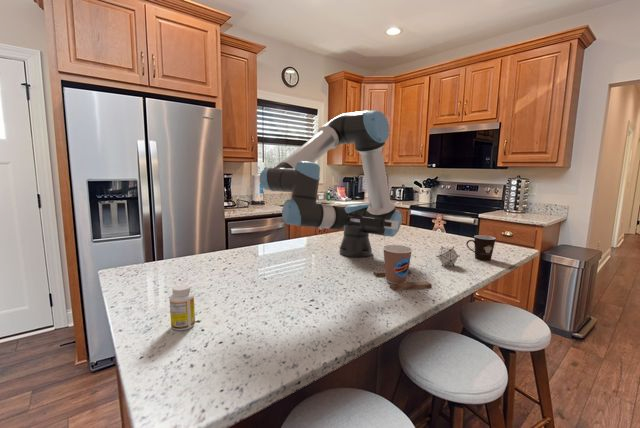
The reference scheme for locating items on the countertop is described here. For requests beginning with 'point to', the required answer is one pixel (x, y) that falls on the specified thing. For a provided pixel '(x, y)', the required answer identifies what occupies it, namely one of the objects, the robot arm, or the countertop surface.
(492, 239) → the coffee mug
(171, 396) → the countertop surface
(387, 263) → the coffee cup
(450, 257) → the game die
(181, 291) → the supplement bottle
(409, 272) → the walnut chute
